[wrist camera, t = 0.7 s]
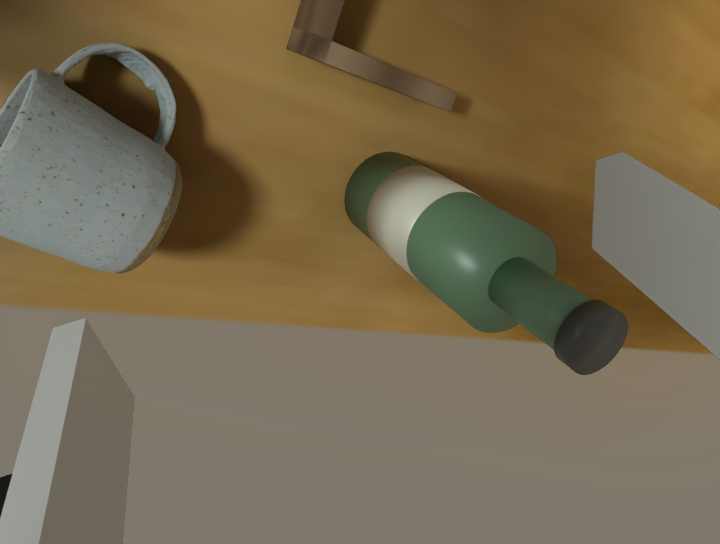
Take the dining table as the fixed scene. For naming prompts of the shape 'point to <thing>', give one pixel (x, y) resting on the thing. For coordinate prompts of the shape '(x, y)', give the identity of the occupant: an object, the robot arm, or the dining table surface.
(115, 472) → the robot arm
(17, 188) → the ceramic mug
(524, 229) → the bottle
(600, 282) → the dining table surface
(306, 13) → the u rest
